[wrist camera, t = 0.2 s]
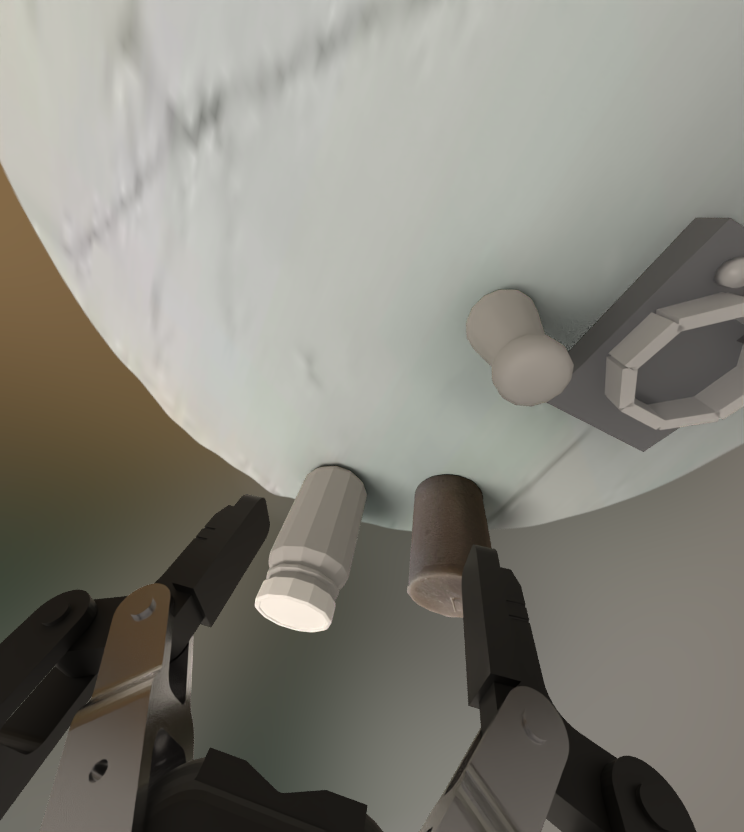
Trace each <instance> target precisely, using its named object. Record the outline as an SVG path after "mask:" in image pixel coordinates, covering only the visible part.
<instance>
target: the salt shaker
mask: <svg viewBox="0 0 744 832" xmlns="http://www.w3.org/2000/svg"><path fill="white" fill-rule="evenodd" d="M466 333H467V339H468V340H469V342H470V344H471V345H472V347H473V349H474V350H475V351H476V352H477V353H478V354H479V355H480V356H481V357H482V358H483V359H484V360H485V361H486V362H487V363H488V364H489V365H490V366H491V367H492V381H493V384H494V385H495V387H496V389H497V390H498V392H499V394H500V395H501V396H502V397H503V398H504V399H505V400H507V401H509V402H511V403H513V404H515V405H522V406H534V405H538V404H542V403H545V402H548V401H550V400H551V399H553V398H554V397H556V396H557V395H559V394H561V393H562V392H563V390H564V389H565V388H566V386H567V385H568V383H569V382H570V381H571V378H572V372H573V367H574V364H573V362H572V360H571V358H570V356H569V354H568V352H567V350H566V348H565V346H563V345H562V344H561V343H559V342H558V341H556V340H554V339H553V338H551V337H549V336H548V335H545V333H544V329H543V326H542V323H541V320H540V316H539V313H538V311H537V309H536V307H535V305H534V303H533V301H532V299H531V298H530V297H528V296H527V295H525V294H524V293H522V292H520V291H519V290H502V289H500V290H497V291H495V292H492V293H490V294H487V295H485V296H483V297H482V298H481V299H480V300H479V301H478V302H477V303H476V304H475V305H474V306H473V307H472V309H471V312H470V314H469V316H468V319H467V321H466Z"/></svg>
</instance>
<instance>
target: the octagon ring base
mask: <svg viewBox="0 0 744 832" xmlns="http://www.w3.org/2000/svg"><path fill="white" fill-rule="evenodd" d="M568 354H569V356H570V358H571V360H572V362H573V364H574V367H573V372H572V378H571V381H570V382H569V383H568V385H567V386H566V388H565V389H564V390H563V392H562V393H561V394H559V395H557V396H556V397H554V398H553V399H551V400H550V401H548V402H547V403H549V404H551V405H553V406H555V407H557V408H558V409H560V410H562V411H564V412H566V413H568V414H570V415H572V416H574V417H576V418H578V419H580V420H582V421H584V422H586V423H588V424H590V425H592V426H594V427H596V428H598V429H600V430H602V431H604V432H605V433H607V434H609V435H611V436H613V437H615V438H617V439H619V440H621V441H623V442H625V443H627V444H629V445H631V446H633V447H635V448H637V449H639V450H641V451H643V452H644V451H645V450H647V449H648V448H650V447H651V446H653V445H654V444H656V443H657V442H659V441H660V440H662V439H663V438H665V437H666V436H668V435H669V434H671V433H672V432H674V431H675V430H677V429H678V428H680V427H684V426H691V425H698V424H704V423H711V422H718V419H719V418H721V419H725V418H726V417H728V416H729V415H731V414H733V413H734V412H736V411H737V410H739V409H740V408H742V407H744V227H743V226H742V225H740V224H739V223H737V222H736V221H734V220H733V219H731V218H695V219H694V220H693V221H692V222H691V223H690V224H689V226H688V227H687V228H686V229H685V230H684V231H683V232H682V233H681V234H680V235H679V236H678V237H677V238H676V239H675V240H674V241H673V242H672V243H671V244H670V246H669V247H668V248H667V249H666V250H665V251H664V252H663V253H662V254H661V255H660V256H659V257H658V258H657V259H656V260H655V261H654V262H653V263H652V264H651V266H650V267H649V268H648V269H647V270H646V271H645V272H644V273H643V274H642V275H641V276H640V277H639V278H638V279H637V280H636V281H635V282H634V283H633V284H632V286H631V287H630V288H629V289H628V290H627V291H626V292H625V293H624V294H623V295H622V296H621V297H620V298H619V299H618V300H617V301H616V302H615V303H614V304H613V306H612V307H611V308H610V309H609V310H608V311H607V312H606V313H605V314H604V315H603V316H602V317H601V318H600V319H599V320H598V321H597V322H596V323H595V324H594V325H593V327H592V328H591V329H590V330H589V331H588V332H587V333H586V334H585V335H584V336H583V337H582V338H581V339H580V340H579V341H578V342H577V343H576V344H575V345H574V347H573V348H572V349H571V350H570V351H569V352H568Z"/></svg>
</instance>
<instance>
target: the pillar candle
mask: <svg viewBox="0 0 744 832" xmlns="http://www.w3.org/2000/svg"><path fill="white" fill-rule="evenodd" d="M472 545H479V546H483V547H488V548H491V542H490V536H489V531H488V525H487V519H486V515H485V509H484V504H483V495H482V491H481V490H480V488H479V487H478V486H477V485H476V484H475V483H474V482H472V481H471V480H469V479H466V478H463V477H460V476H455V475H437V476H433V477H430V478H428V479H426V480H425V481H423V482H422V483H421V484H420V485H419V486H418V487H417V489H416V492H415V501H414V513H413V527H412V542H411V555H410V571H409V585H408V586H407V588H408V589H407V592H408V593H409V595H410V596H411V598H412V600H413V601H415V602H416V603H417V604H418V605H420V606H422V607H424V608H426V609H428V610H430V611H433V612H435V613H439V614H442V615H444V616H447V617H463V604H462V586H461V583H462V572H463V568H464V566H465V563H466V560H467V558H468V555H469V552H470V550H471V547H472Z"/></svg>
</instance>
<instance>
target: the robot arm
mask: <svg viewBox="0 0 744 832" xmlns="http://www.w3.org/2000/svg"><path fill="white" fill-rule="evenodd" d="M269 527H270V522H269V516H268V511H267V505H266V500H265V499H264V498H261V497H257V496H252V495H248V494H246V495H243V496H242V497H241V498H240V500H239V501H238V502H237V503H236V504H235V506H230V505H228V506H227V507H225V508H224V509H222V510H221V511H219V512H218V513H216V514H215V515H214V516H213V517H212V518H211V520H210V521H209V522H208V523H207V524H206V525H205V528H204V529H202V530H201V531H200V532H199V534H198V535H197V536H196V538H195V539H193V541H192V542H191V543H190V544H189V545H188V546H187V547H186V549H185V550H184V551H183V552H182V553H181V554H180V556H179V557H178V558H177V559H176V560H175V562H174V563H173V564H172V565H171V566H170V567H169V568H168V570H167V571H166V572H165V573H164V574H163V575H162V576H161V577H160V578H159V579H158V580H157V581H156V582H155V583H154V584H149V585H146V586H143V587H141V588H139V589H137V590H135V591H134V592H132V593H131V594H130V595H128V596H124V597H114V598H104V599H94V600H93V599H92V598H91V596H90V595H89V594H88V593H87V592H86V591H83V590H72V591H68V592H65V593H62V594H60V595H58V596H56V597H54V598H52V599H50V600H49V601H47V602H46V603H44V604H43V605H42V606H40V607H39V608H38V609H37V610H36V611H35V612H34V613H33V614H32V615H31V616H30V617H28V618H27V619H26V620H25V621H24V622H23V623H22V624H21V625H20V626H19V627H18V628H17V629H16V630H14V631H13V632H12V633H11V634H10V635H9V636H8V637H7V638H6V639H5V640H4V641H3V642H2V643H1V644H0V820H1V819H2V817H3V816H4V815H5V813H6V812H7V810H8V809H9V808H10V806H11V805H12V804H13V802H14V801H15V800H16V798H17V797H18V796H19V794H20V793H21V792H22V790H23V789H24V787H25V786H26V785H27V783H28V782H29V781H30V779H31V778H32V777H33V775H34V774H35V772H36V771H37V770H38V768H39V767H40V766H41V764H42V763H43V762H44V760H45V759H46V758H47V756H48V755H49V754H50V752H51V751H52V750H53V748H54V747H55V745H56V744H57V743H58V741H59V740H60V739H61V737H62V736H63V735H64V733H65V732H66V731H67V729H68V728H69V726H70V728H69V731H68V735H67V738H66V742H65V745H64V749H63V752H62V756H61V759H60V763H59V766H58V770H57V773H56V776H55V780H54V783H53V787H52V790H51V794H50V797H49V800H48V804H47V807H46V811H45V814H44V818H43V821H42V825H41V828H40V832H383V831H382V830H381V828H380V827H379V826H378V825H377V823H376V822H375V821H374V820H373V819H372V818H371V817H369V816H368V815H367V814H366V812H367V805H365V804H363V803H360V802H357V801H355V800H352V799H349V798H346V797H344V796H341V795H338V794H335V793H333V792H330V791H327V790H321V791H307V792H295V793H280V792H278V791H277V790H276V789H275V788H274V787H273V786H272V785H270V784H269V782H268V781H266V780H265V779H264V778H263V777H262V776H261V775H260V774H259V773H258V772H257V771H256V770H255V769H254V768H253V767H252V766H251V765H250V764H249V763H248V762H247V761H245V760H243V759H240V758H237V757H235V756H232V755H229V754H226V753H224V752H221V751H218V750H215V749H213V748H210V749H209V751H208V753H207V755H206V757H204V758H200V759H196V760H193V755H194V727H193V719H192V714H191V703H190V702H191V680H192V659H193V634H194V632H195V631H196V630H197V628H198V627H199V625H200V624H202V625H205V626H208V627H212V625H213V624H214V622H215V620H216V619H217V617H218V616H219V614H220V612H221V611H222V609H223V607H224V606H225V604H226V603H227V601H228V599H229V598H230V596H231V594H232V593H233V591H234V589H235V588H236V586H237V585H238V583H239V581H240V580H241V578H242V576H243V575H244V573H245V572H246V570H247V568H248V567H249V565H250V563H251V562H252V560H253V558H254V557H255V555H256V554H257V552H258V550H259V549H260V547H261V545H262V544H263V542H264V541H265V539H266V537H267V534H268V531H269ZM461 586H462V604H463V621H464V638H465V655H466V671H467V687H468V688H467V689H468V705H469V706H471V707H475V708H478V709H480V720H481V728H480V730H479V731H478V733H477V735H476V737H475V738H474V740H473V742H472V744H471V746H470V747H469V749H468V751H467V752H466V754H465V756H464V757H463V759H462V761H461V763H460V765H459V766H458V768H457V770H456V771H455V773H454V775H453V777H452V778H451V780H450V782H449V784H448V785H447V787H446V789H445V791H444V792H443V794H442V796H441V797H440V799H439V800H438V802H437V803H436V805H435V806H434V808H433V809H432V811H431V813H430V814H429V816H428V818H427V819H426V821H425V823H424V824H423V826H422V828H421V829H420V831H419V832H541V831H542V828H543V825H544V822H545V820H546V819H547V820H549V821H550V822H551V823H552V824H554V825H555V826H556V827H557V828H558V829H559V830H561V831H562V832H696V830H695V828H694V825H693V822H692V820H691V818H690V816H689V814H688V812H687V810H686V808H685V806H684V805H683V803H682V801H681V800H680V798H679V797H678V795H677V794H676V792H675V791H674V790H673V788H672V787H671V786H670V785H669V784H668V782H667V781H666V780H665V779H664V778H663V777H662V776H661V775H660V774H659V773H658V772H657V771H656V770H655V769H654V768H652V767H651V766H650V765H648V764H647V763H645V762H644V761H642V760H640V759H638V758H636V757H632V756H622V757H619V758H618V759H617V758H616V757H614V756H613V755H611V754H610V753H608V752H607V751H605V750H604V749H603V748H601V747H600V746H598V745H597V744H595V743H594V742H592V741H591V740H589V739H588V738H586V737H585V736H583V735H582V734H580V733H579V732H578V731H577V730H575V729H574V728H573V727H572V726H571V725H570V724H569V723H567V721H566V720H565V719H564V718H563V717H562V716H561V715H560V713H559V712H558V711H557V709H556V708H555V706H554V705H553V703H552V701H551V699H550V697H549V696H548V693H547V690H546V688H545V685H544V681H543V677H542V673H541V668H540V664H539V660H538V656H537V651H536V647H535V643H534V639H533V635H532V631H531V626H530V623H529V618H528V614H527V609H526V608H525V601H524V597H523V592H522V589H521V585H520V584H519V582H518V581H517V579H516V577H515V576H514V574H513V572H512V571H511V570H510V569H506V568H501V567H500V564H499V559H498V554H497V551H496V550H495V549H492V548H488V547H483V546H479V545H472V547H471V550H470V552H469V555H468V558H467V560H466V563H465V566H464V568H463V572H462V583H461ZM54 666H55V667H54ZM53 667H54V668H53ZM52 668H53V669H52ZM51 669H52V670H51ZM50 670H51V671H50ZM49 672H50V673H49ZM48 673H49V674H48ZM47 674H48V675H47ZM46 675H47V676H46ZM45 676H46V677H45ZM44 677H45V678H44ZM43 678H44V679H43ZM41 681H42V682H41ZM40 682H41V683H40ZM39 683H40V684H39ZM38 684H39V685H38ZM37 685H38V686H37ZM36 686H37V687H36ZM35 687H36V688H35ZM33 690H34V691H33ZM32 691H33V692H32ZM31 692H32V693H31ZM30 693H31V694H30ZM29 694H30V695H29ZM28 695H29V697H28ZM26 698H27V699H26ZM90 698H91V699H90ZM25 699H26V700H25ZM89 699H90V701H89ZM24 700H25V701H24ZM23 701H24V702H23ZM88 701H89V702H88ZM22 702H23V703H22ZM87 702H88V703H87ZM21 703H22V704H21ZM86 703H87V704H86ZM20 704H21V705H20ZM19 706H20V707H19ZM18 707H19V708H18ZM17 708H18V709H17ZM16 709H17V710H16ZM15 710H16V711H15ZM14 711H15V712H14ZM13 712H14V714H13V715H12V713H13ZM11 715H12V716H11ZM10 716H11V717H10ZM9 717H10V718H9ZM8 718H9V719H8ZM7 719H8V720H7ZM4 723H5V724H4Z"/></svg>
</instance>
